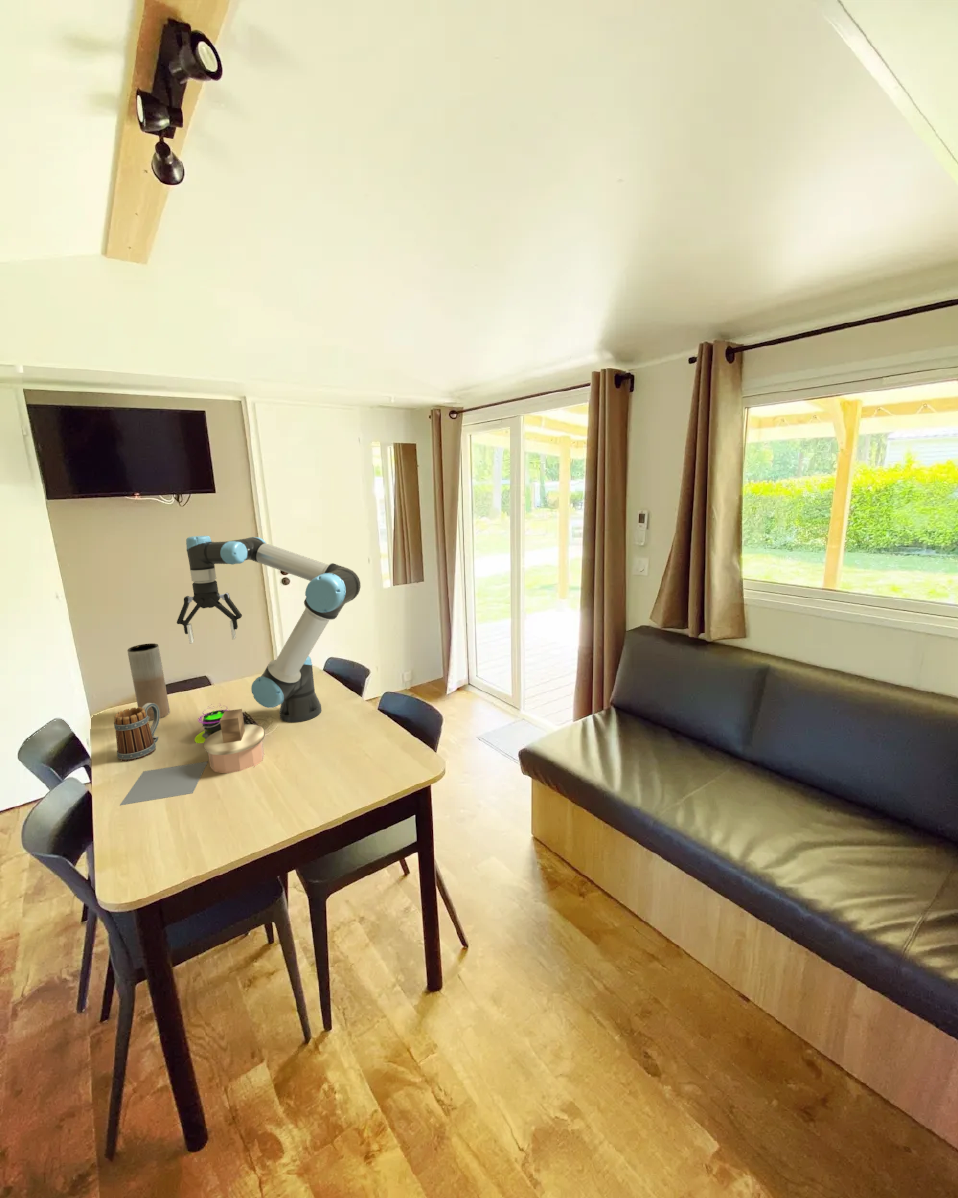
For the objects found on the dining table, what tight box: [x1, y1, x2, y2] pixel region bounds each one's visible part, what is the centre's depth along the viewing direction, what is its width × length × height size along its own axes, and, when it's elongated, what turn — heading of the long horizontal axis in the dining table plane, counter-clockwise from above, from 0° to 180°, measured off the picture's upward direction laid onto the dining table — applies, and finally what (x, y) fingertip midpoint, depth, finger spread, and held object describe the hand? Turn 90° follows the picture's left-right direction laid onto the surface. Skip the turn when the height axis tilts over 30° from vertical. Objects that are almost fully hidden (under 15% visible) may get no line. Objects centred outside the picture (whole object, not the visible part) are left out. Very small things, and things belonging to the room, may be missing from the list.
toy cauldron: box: [194, 702, 230, 744], centre depth 177 cm, size 15×15×11 cm
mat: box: [119, 760, 209, 806], centre depth 148 cm, size 18×18×1 cm
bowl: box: [207, 740, 265, 774], centre depth 159 cm, size 15×15×7 cm
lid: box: [203, 708, 265, 755], centre depth 157 cm, size 17×17×9 cm
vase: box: [127, 643, 171, 722], centre depth 193 cm, size 10×10×28 cm
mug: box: [113, 703, 161, 762], centre depth 166 cm, size 16×11×15 cm
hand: (213, 640), depth 177 cm, fingers open, 13 cm apart
